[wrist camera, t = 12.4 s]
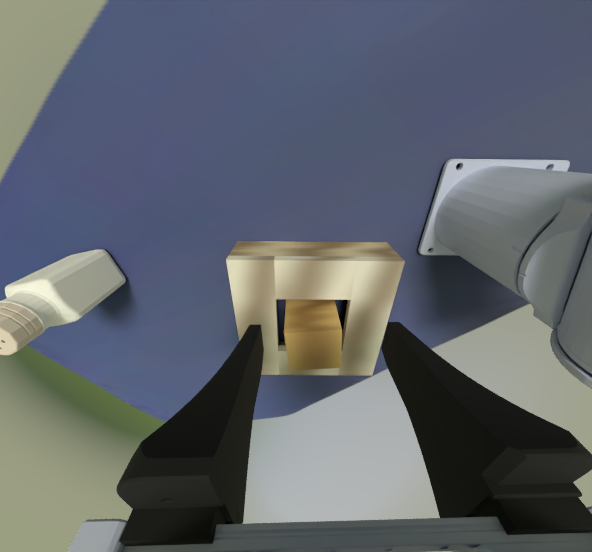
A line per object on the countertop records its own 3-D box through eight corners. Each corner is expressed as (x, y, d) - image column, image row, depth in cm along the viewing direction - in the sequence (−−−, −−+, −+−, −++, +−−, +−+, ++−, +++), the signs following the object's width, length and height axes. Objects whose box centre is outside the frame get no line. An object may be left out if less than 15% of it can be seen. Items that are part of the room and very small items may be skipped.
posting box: (386, 242, 21) (404, 261, 17) (362, 347, 28) (372, 375, 24) (237, 241, 21) (226, 259, 17) (251, 346, 28) (244, 374, 24)
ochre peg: (329, 281, 23) (342, 329, 17) (330, 315, 25) (341, 367, 19) (287, 284, 23) (283, 333, 17) (291, 317, 26) (289, 370, 19)
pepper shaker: (131, 281, 23) (39, 355, 15) (97, 287, 23) (-11, 363, 15) (106, 245, 21) (-15, 309, 13) (70, 253, 21) (-70, 320, 13)
